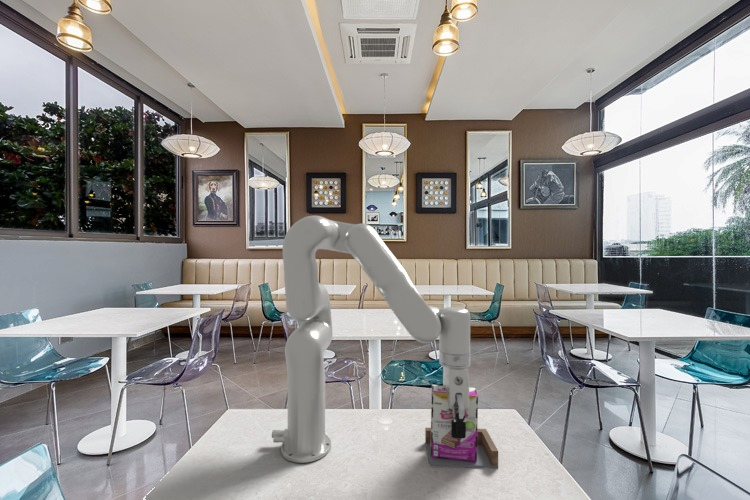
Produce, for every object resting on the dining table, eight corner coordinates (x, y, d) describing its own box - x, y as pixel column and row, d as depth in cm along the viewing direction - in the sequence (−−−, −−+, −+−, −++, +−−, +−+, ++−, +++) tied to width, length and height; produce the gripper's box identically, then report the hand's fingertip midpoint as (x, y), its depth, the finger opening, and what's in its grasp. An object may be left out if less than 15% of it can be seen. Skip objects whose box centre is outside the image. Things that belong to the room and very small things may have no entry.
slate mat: (430, 466, 81) (430, 464, 81) (425, 442, 91) (425, 440, 91) (498, 468, 80) (498, 466, 80) (485, 443, 90) (485, 442, 90)
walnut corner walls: (430, 466, 81) (430, 449, 81) (425, 442, 91) (425, 427, 91) (498, 468, 80) (498, 451, 80) (485, 443, 90) (485, 428, 90)
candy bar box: (430, 459, 83) (430, 391, 83) (430, 447, 88) (430, 383, 88) (478, 463, 81) (478, 395, 81) (475, 451, 86) (475, 386, 86)
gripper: (479, 370, 76) (479, 447, 76) (462, 348, 93) (461, 410, 93) (445, 369, 76) (445, 446, 76) (434, 347, 93) (434, 410, 93)
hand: (454, 426), depth 85 cm, fingers open, 9 cm apart
